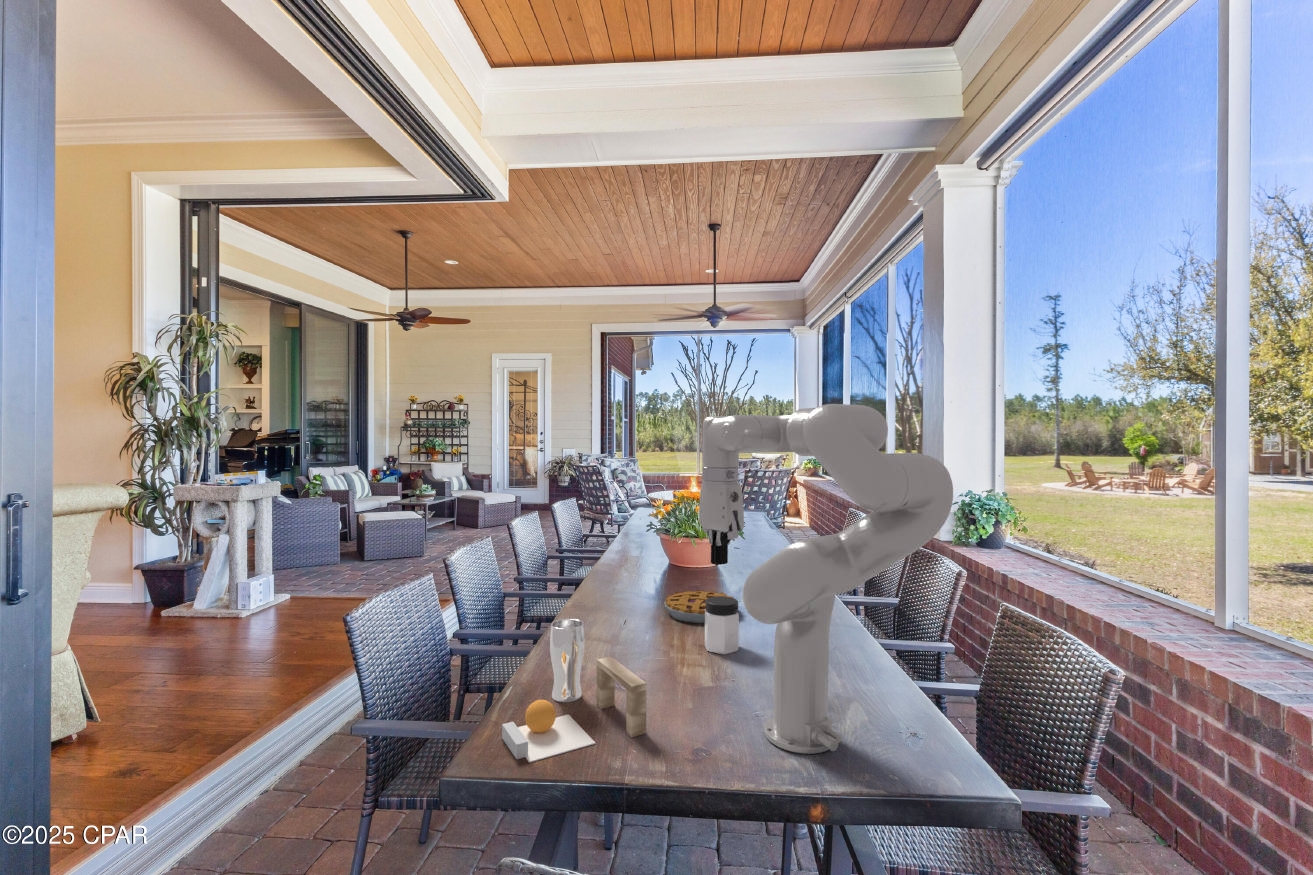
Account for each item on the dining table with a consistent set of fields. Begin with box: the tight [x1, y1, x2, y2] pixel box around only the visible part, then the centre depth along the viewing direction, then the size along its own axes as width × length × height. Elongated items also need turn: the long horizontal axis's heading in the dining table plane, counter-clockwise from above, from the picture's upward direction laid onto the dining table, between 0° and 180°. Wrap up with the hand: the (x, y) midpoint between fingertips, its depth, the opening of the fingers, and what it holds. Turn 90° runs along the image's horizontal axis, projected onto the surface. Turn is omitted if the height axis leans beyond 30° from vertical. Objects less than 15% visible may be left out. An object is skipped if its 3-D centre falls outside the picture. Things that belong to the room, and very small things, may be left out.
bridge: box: [596, 656, 647, 739], centre depth 116 cm, size 3×14×9 cm, turn 31°
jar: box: [704, 596, 740, 655], centre depth 154 cm, size 9×8×12 cm
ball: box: [524, 699, 557, 733], centre depth 111 cm, size 6×6×6 cm
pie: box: [663, 589, 734, 624], centre depth 182 cm, size 22×22×5 cm
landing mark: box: [517, 714, 596, 764], centre depth 109 cm, size 12×12×1 cm
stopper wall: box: [501, 721, 528, 760], centre depth 106 cm, size 8×2×2 cm, turn 31°
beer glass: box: [549, 618, 585, 703], centre depth 126 cm, size 7×7×15 cm
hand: (719, 563), depth 128 cm, fingers closed
